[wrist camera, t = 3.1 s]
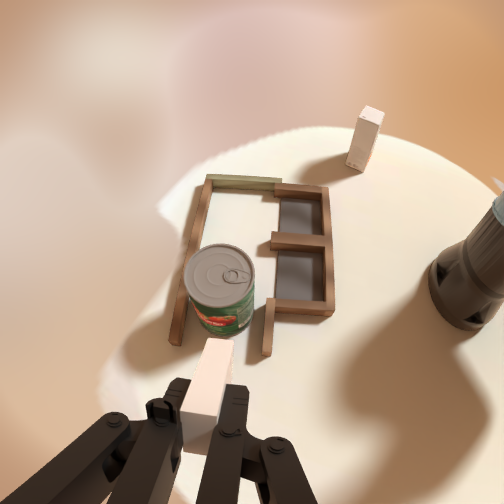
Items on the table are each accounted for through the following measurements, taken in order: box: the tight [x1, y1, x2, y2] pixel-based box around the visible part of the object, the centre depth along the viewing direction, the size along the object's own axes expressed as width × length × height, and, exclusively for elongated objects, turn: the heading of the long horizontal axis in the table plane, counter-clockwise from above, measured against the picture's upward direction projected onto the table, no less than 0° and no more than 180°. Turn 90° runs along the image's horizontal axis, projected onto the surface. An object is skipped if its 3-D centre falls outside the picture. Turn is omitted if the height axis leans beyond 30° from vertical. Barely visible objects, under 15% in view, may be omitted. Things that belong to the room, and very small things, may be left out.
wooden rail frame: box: [168, 174, 335, 356], centre depth 47 cm, size 30×22×2 cm
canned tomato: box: [183, 244, 255, 337], centre depth 39 cm, size 8×8×11 cm
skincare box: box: [345, 105, 385, 172], centre depth 55 cm, size 6×4×12 cm
